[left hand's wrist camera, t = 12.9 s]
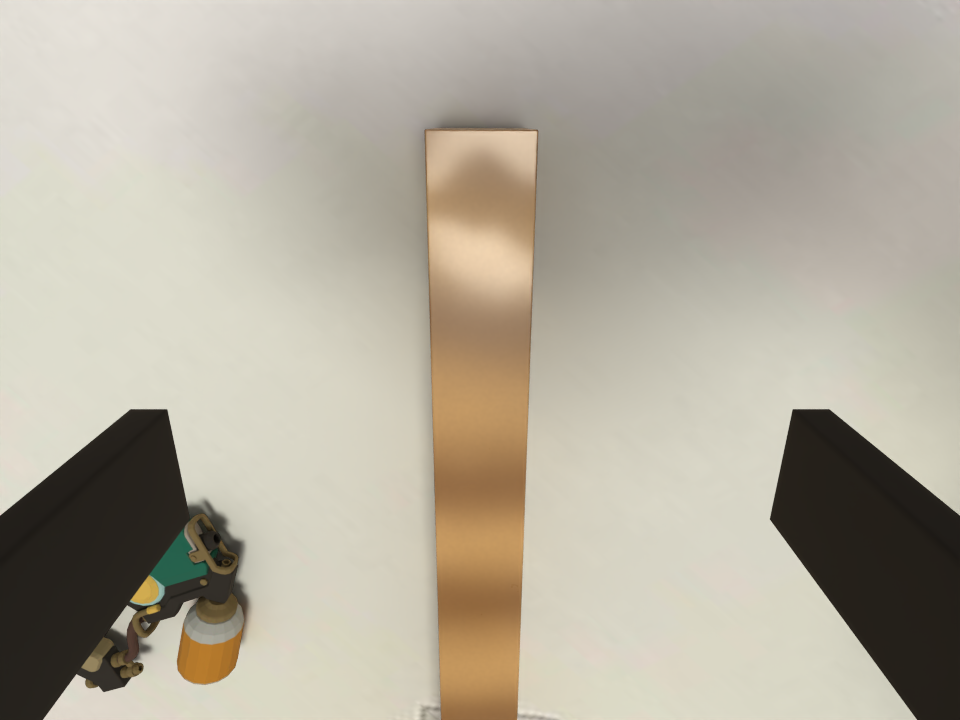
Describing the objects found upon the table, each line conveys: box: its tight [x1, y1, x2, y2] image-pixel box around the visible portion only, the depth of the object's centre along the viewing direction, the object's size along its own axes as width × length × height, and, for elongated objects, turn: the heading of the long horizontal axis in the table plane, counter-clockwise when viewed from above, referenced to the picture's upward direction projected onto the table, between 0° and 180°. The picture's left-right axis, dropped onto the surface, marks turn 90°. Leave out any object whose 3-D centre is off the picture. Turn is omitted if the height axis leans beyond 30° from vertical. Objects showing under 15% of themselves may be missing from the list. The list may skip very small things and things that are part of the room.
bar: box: [425, 128, 538, 720], centre depth 44 cm, size 73×5×8 cm, turn 0°
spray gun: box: [77, 513, 244, 692], centre depth 45 cm, size 4×17×15 cm
